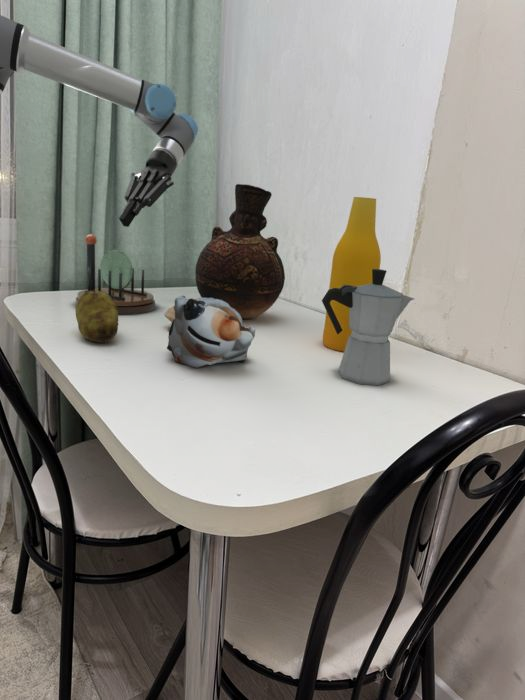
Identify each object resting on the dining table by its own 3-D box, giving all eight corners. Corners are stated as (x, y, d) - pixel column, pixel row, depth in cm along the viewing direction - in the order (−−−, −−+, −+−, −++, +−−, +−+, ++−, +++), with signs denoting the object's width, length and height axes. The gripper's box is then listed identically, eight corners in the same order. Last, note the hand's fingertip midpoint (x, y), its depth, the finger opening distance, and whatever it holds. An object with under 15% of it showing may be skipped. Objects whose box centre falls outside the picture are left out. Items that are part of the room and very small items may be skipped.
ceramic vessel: (182, 318, 114) (188, 178, 106) (204, 304, 130) (211, 183, 122) (273, 329, 111) (287, 186, 102) (285, 314, 127) (297, 190, 119)
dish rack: (59, 297, 115) (58, 234, 111) (111, 288, 130) (111, 233, 126) (121, 309, 109) (121, 243, 105) (167, 299, 124) (169, 240, 120)
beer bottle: (313, 344, 102) (330, 194, 94) (337, 338, 109) (356, 197, 101) (352, 356, 96) (375, 197, 88) (375, 348, 103) (398, 200, 95)
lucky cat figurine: (258, 355, 91) (276, 295, 81) (228, 398, 82) (245, 338, 73) (185, 320, 93) (195, 258, 84) (149, 359, 85) (155, 295, 75)
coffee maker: (393, 370, 90) (410, 268, 84) (408, 388, 81) (428, 276, 76) (309, 364, 89) (322, 261, 84) (317, 381, 80) (331, 268, 75)
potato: (66, 345, 87) (65, 299, 85) (79, 326, 99) (79, 286, 97) (116, 347, 89) (116, 302, 86) (123, 328, 101) (123, 289, 99)
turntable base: (58, 305, 115) (58, 298, 115) (112, 295, 131) (112, 289, 131) (121, 318, 109) (121, 311, 108) (169, 306, 124) (170, 300, 124)
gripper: (189, 172, 138) (151, 235, 128) (150, 169, 143) (110, 230, 133) (179, 149, 132) (138, 214, 122) (139, 147, 137) (96, 209, 127)
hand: (123, 222), depth 128 cm, fingers closed
